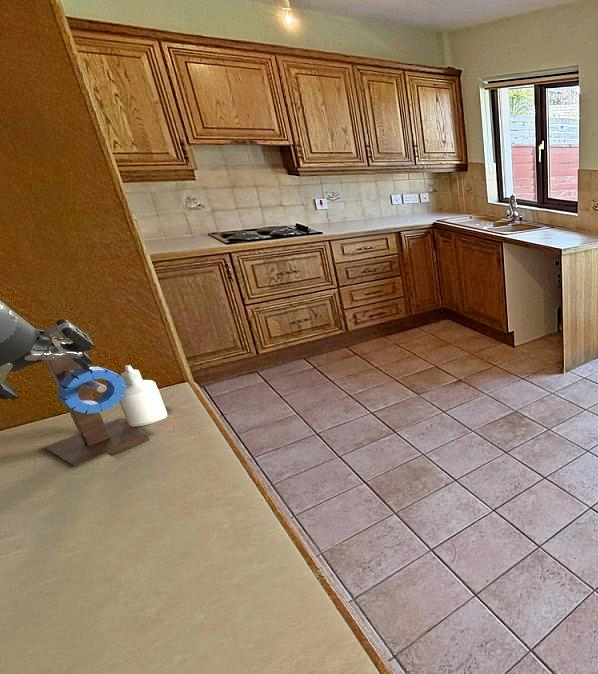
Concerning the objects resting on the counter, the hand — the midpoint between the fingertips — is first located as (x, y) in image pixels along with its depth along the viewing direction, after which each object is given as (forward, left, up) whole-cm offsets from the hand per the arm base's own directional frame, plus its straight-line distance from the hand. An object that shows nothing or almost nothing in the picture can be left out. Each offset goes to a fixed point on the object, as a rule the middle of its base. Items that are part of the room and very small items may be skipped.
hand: (50, 379), depth 74 cm
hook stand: (-1, +3, -17) cm, 17 cm away
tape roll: (+2, +3, -3) cm, 5 cm away
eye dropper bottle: (-7, +11, -17) cm, 21 cm away
